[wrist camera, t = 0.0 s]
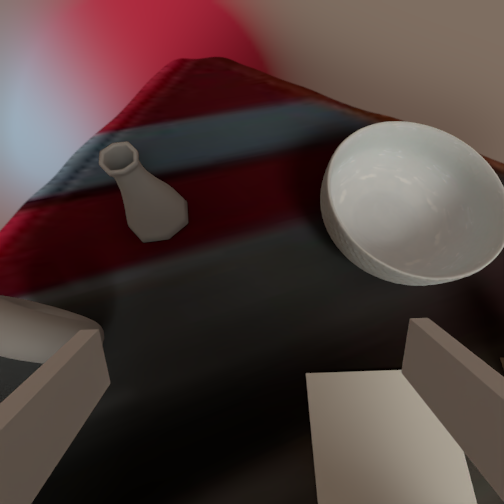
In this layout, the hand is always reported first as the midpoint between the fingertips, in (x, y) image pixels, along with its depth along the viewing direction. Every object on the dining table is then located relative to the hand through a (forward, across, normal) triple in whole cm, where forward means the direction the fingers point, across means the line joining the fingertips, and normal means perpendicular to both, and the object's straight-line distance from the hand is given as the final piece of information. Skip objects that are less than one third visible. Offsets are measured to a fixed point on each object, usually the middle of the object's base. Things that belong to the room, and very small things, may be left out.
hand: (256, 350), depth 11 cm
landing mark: (+7, -11, +16) cm, 21 cm away
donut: (+14, +18, +7) cm, 24 cm away
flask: (+22, +11, -3) cm, 24 cm away
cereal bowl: (+20, -15, -1) cm, 26 cm away
